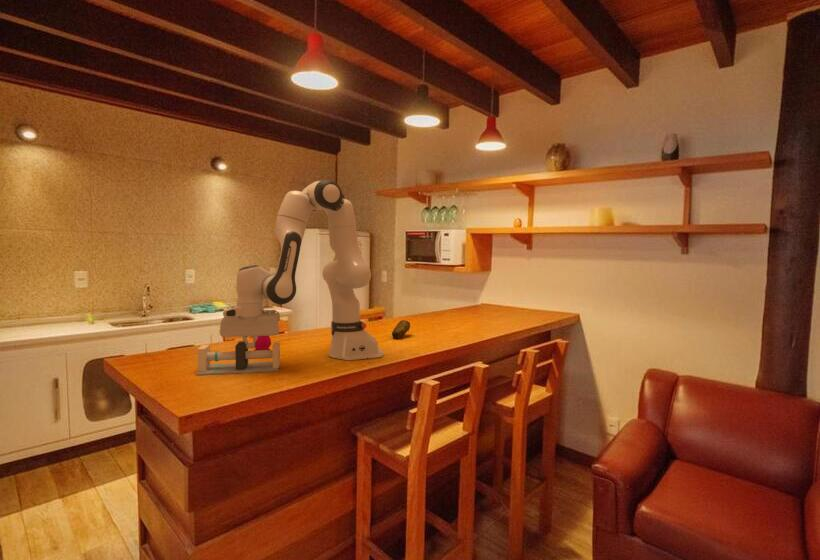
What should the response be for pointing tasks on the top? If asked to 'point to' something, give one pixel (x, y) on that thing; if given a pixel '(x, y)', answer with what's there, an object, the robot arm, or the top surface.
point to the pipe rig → (216, 369)
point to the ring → (241, 355)
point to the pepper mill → (262, 343)
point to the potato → (401, 329)
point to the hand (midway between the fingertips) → (250, 348)
